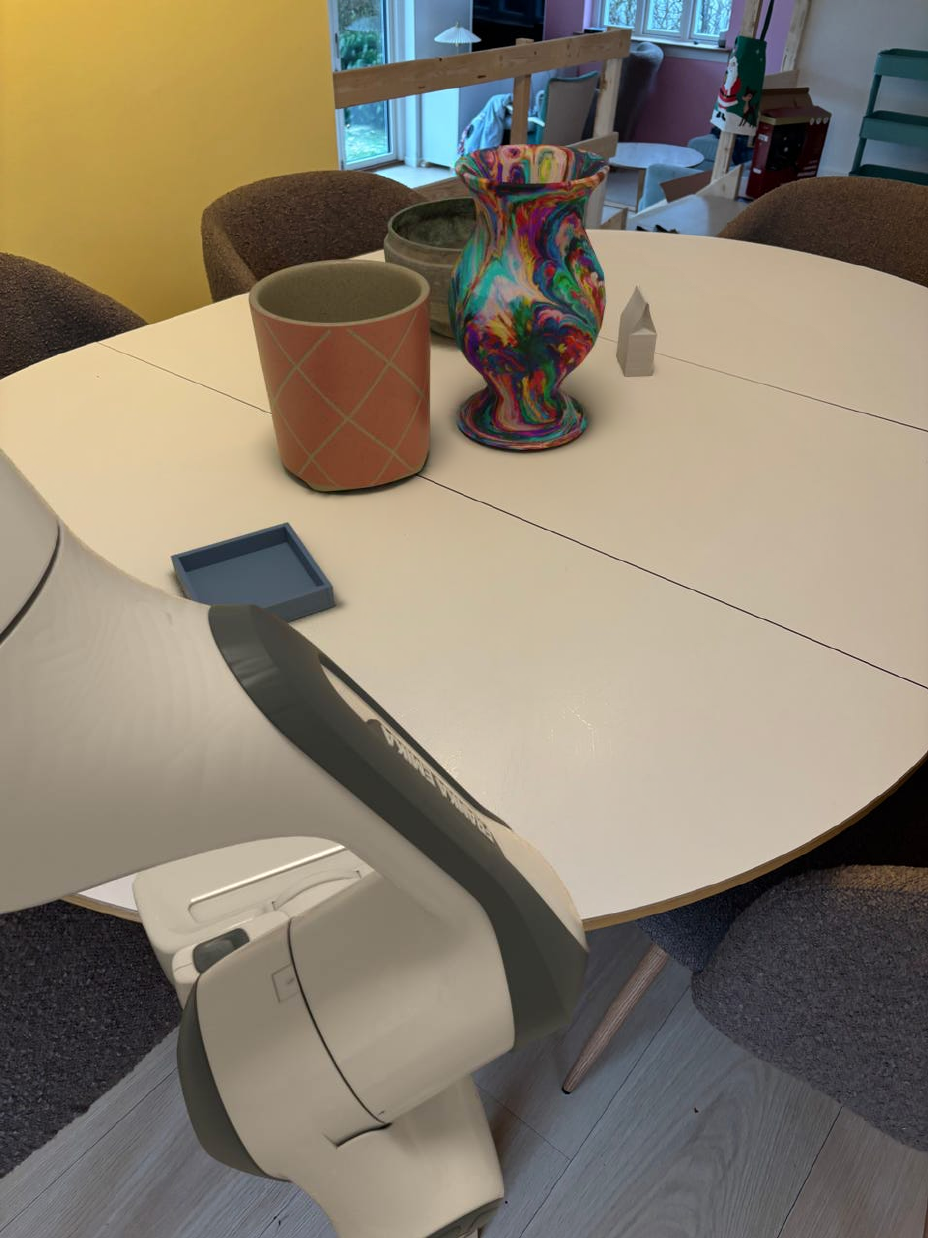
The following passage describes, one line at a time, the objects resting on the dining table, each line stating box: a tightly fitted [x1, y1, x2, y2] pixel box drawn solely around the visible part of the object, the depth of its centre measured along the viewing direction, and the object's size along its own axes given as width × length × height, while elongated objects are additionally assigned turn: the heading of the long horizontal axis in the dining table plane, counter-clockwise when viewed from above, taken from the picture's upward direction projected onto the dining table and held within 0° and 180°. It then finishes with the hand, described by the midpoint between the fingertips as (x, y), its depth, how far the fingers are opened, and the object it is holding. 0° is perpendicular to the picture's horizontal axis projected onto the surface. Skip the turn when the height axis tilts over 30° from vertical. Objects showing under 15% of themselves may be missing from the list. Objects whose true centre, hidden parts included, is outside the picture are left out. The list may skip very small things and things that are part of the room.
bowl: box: [383, 196, 476, 339], centre depth 133 cm, size 32×26×15 cm
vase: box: [447, 143, 611, 451], centre depth 104 cm, size 18×18×30 cm
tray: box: [170, 521, 336, 623], centre depth 87 cm, size 12×12×2 cm
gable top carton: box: [615, 285, 658, 378], centre depth 122 cm, size 4×7×10 cm, turn 3°
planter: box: [248, 258, 431, 492], centre depth 101 cm, size 19×19×20 cm
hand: (275, 778), depth 61 cm, fingers open, 5 cm apart
